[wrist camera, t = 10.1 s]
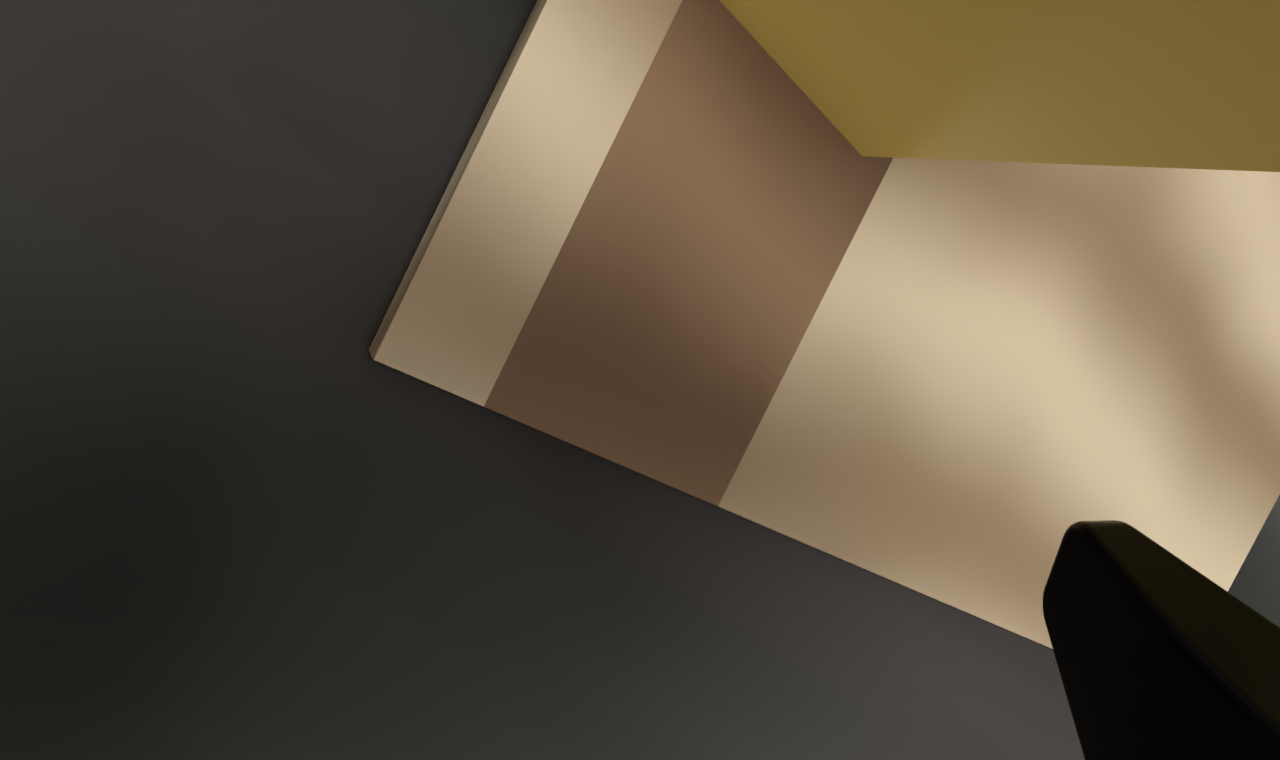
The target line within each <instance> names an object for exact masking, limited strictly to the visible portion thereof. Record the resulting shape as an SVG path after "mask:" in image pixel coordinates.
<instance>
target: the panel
mask: <svg viewBox="0 0 1280 760" xmlns="http://www.w3.org/2000/svg"><path fill="white" fill-rule="evenodd" d="M369 352H370V354H371V356H372V358H373V359H374V360H375V361H378V362H380V363H382V364H385V365H387V366H389V367H392V368H394V369H397V370H399V371H401V372H404V373H406V374H408V375H411V376H413V377H415V378H418V379H420V380H422V381H425V382H427V383H429V384H432V385H434V386H436V387H439V388H441V389H444V390H446V391H448V392H451V393H453V394H455V395H458V396H460V397H462V398H465V399H467V400H469V401H472V402H474V403H476V404H479V405H481V406H483V407H486V408H488V409H490V410H493V411H495V412H498V413H500V414H502V415H505V416H507V417H509V418H512V419H514V420H516V421H519V422H521V423H523V424H526V425H528V426H530V427H533V428H535V429H537V430H540V431H542V432H544V433H547V434H549V435H552V436H554V437H556V438H559V439H561V440H563V441H566V442H568V443H570V444H573V445H575V446H577V447H580V448H582V449H584V450H587V451H589V452H591V453H594V454H596V455H598V456H601V457H603V458H606V459H608V460H610V461H613V462H615V463H617V464H620V465H622V466H624V467H627V468H629V469H631V470H634V471H636V472H638V473H641V474H643V475H645V476H648V477H650V478H652V479H655V480H657V481H660V482H662V483H664V484H667V485H669V486H671V487H674V488H676V489H678V490H681V491H683V492H685V493H688V494H690V495H692V496H695V497H697V498H699V499H702V500H704V501H707V502H709V503H711V504H714V505H716V506H718V507H721V508H723V509H725V510H728V511H730V512H732V513H735V514H737V515H739V516H742V517H744V518H746V519H749V520H751V521H753V522H756V523H758V524H761V525H763V526H765V527H768V528H770V529H772V530H775V531H777V532H779V533H782V534H784V535H786V536H789V537H791V538H793V539H796V540H798V541H800V542H803V543H805V544H807V545H810V546H812V547H815V548H817V549H819V550H822V551H824V552H826V553H829V554H831V555H833V556H836V557H838V558H840V559H843V560H845V561H847V562H850V563H852V564H854V565H857V566H859V567H861V568H864V569H866V570H869V571H871V572H873V573H876V574H878V575H880V576H883V577H885V578H887V579H890V580H892V581H894V582H897V583H899V584H901V585H904V586H906V587H908V588H911V589H913V590H915V591H918V592H920V593H923V594H925V595H927V596H930V597H932V598H934V599H937V600H939V601H941V602H944V603H946V604H948V605H951V606H953V607H955V608H958V609H960V610H962V611H965V612H967V613H969V614H972V615H974V616H977V617H979V618H981V619H984V620H986V621H988V622H991V623H993V624H995V625H998V626H1000V627H1002V628H1005V629H1007V630H1009V631H1012V632H1014V633H1016V634H1019V635H1021V636H1024V637H1026V638H1028V639H1031V640H1033V641H1035V642H1038V643H1040V644H1042V645H1045V646H1047V647H1049V648H1052V644H1051V641H1050V637H1049V634H1048V630H1047V627H1046V623H1045V619H1044V614H1043V593H1044V588H1045V585H1046V582H1047V580H1048V577H1049V574H1050V571H1051V569H1052V566H1053V563H1054V560H1055V558H1056V555H1057V552H1058V549H1059V547H1060V544H1061V541H1062V538H1063V536H1064V534H1065V532H1066V530H1067V528H1068V527H1069V526H1070V525H1072V524H1073V523H1075V522H1078V521H1103V520H1116V521H1122V522H1125V523H1127V524H1129V525H1131V526H1132V527H1134V528H1135V529H1137V530H1138V531H1140V532H1141V533H1143V534H1144V535H1146V536H1147V537H1149V538H1150V539H1151V540H1153V541H1154V542H1156V543H1157V544H1159V545H1160V546H1162V547H1163V548H1165V549H1166V550H1168V551H1169V552H1170V553H1172V554H1173V555H1175V556H1176V557H1178V558H1179V559H1181V560H1182V561H1184V562H1185V563H1186V564H1188V565H1189V566H1191V567H1192V568H1194V569H1195V570H1197V571H1198V572H1200V573H1201V574H1203V575H1204V576H1205V577H1207V578H1208V579H1210V580H1211V581H1213V582H1214V583H1216V584H1217V585H1219V586H1220V587H1221V588H1223V589H1224V590H1226V591H1227V592H1228V590H1229V588H1230V586H1231V584H1232V583H1233V581H1234V579H1235V577H1236V575H1237V573H1238V571H1239V569H1240V568H1241V566H1242V564H1243V562H1244V560H1245V558H1246V556H1247V554H1248V552H1249V551H1250V549H1251V547H1252V545H1253V543H1254V541H1255V539H1256V537H1257V536H1258V534H1259V532H1260V530H1261V528H1262V526H1263V524H1264V522H1265V521H1266V519H1267V517H1268V515H1269V513H1270V511H1271V509H1272V507H1273V505H1274V504H1275V502H1276V500H1277V498H1278V496H1279V494H1280V172H1263V171H1236V170H1209V169H1183V168H1156V167H1130V166H1103V165H1077V164H1050V163H1023V162H997V161H970V160H944V159H917V158H891V157H864V156H861V155H860V153H859V152H858V151H857V150H856V149H855V148H854V147H853V146H852V145H851V144H850V143H849V141H848V140H847V139H846V138H845V137H844V136H843V135H842V134H841V133H840V132H839V130H838V129H837V128H836V127H835V126H834V125H833V124H832V123H831V122H830V121H829V120H828V118H827V117H826V116H825V115H824V114H823V113H822V112H821V111H820V110H819V109H818V108H817V106H816V105H815V104H814V103H813V102H812V101H811V100H810V99H809V98H808V97H807V95H806V94H805V93H804V92H803V91H802V90H801V89H800V88H799V87H798V86H797V85H796V83H795V82H794V81H793V80H792V79H791V78H790V77H789V76H788V75H787V74H786V73H785V71H784V70H783V69H782V68H781V67H780V66H779V65H778V64H777V63H776V62H775V60H774V59H773V58H772V57H771V56H770V55H769V54H768V53H767V52H766V51H765V50H764V48H763V47H762V46H761V45H760V44H759V43H758V42H757V41H756V40H755V39H754V37H753V36H752V35H751V34H750V33H749V32H748V31H747V30H746V29H745V28H744V27H743V25H742V24H741V23H740V22H739V21H738V20H737V19H736V18H735V17H734V16H733V15H732V13H731V12H730V11H729V10H728V9H727V8H726V7H725V6H724V5H723V4H722V2H721V1H720V0H537V2H536V4H535V6H534V8H533V10H532V12H531V14H530V16H529V18H528V20H527V22H526V24H525V26H524V28H523V31H522V33H521V35H520V37H519V39H518V41H517V43H516V45H515V47H514V49H513V51H512V53H511V55H510V58H509V60H508V62H507V64H506V66H505V68H504V70H503V72H502V74H501V76H500V78H499V80H498V82H497V84H496V87H495V89H494V91H493V93H492V95H491V97H490V99H489V101H488V103H487V105H486V107H485V109H484V111H483V114H482V116H481V118H480V120H479V122H478V124H477V126H476V128H475V130H474V132H473V134H472V136H471V138H470V140H469V143H468V145H467V147H466V149H465V151H464V153H463V155H462V157H461V159H460V161H459V163H458V165H457V167H456V170H455V172H454V174H453V176H452V178H451V180H450V182H449V184H448V186H447V188H446V190H445V192H444V194H443V196H442V199H441V201H440V203H439V205H438V207H437V209H436V211H435V213H434V215H433V217H432V219H431V221H430V223H429V226H428V228H427V230H426V232H425V234H424V236H423V238H422V240H421V242H420V244H419V246H418V248H417V250H416V252H415V255H414V257H413V259H412V261H411V263H410V265H409V267H408V269H407V271H406V273H405V275H404V277H403V279H402V281H401V284H400V286H399V288H398V290H397V292H396V294H395V296H394V298H393V300H392V302H391V304H390V306H389V308H388V311H387V313H386V315H385V317H384V319H383V321H382V323H381V325H380V327H379V329H378V331H377V333H376V335H375V337H374V340H373V342H372V344H371V346H370V348H369ZM1052 649H1053V648H1052Z"/></svg>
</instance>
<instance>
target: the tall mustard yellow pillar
mask: <svg viewBox="0 0 1280 760" xmlns="http://www.w3.org/2000/svg"><path fill="white" fill-rule="evenodd" d="M720 1H721V2H722V4H723V5H724V6H725V7H726V8H727V9H728V10H729V11H730V12H731V13H732V15H733V16H734V17H735V18H736V19H737V20H738V21H739V22H740V23H741V24H742V25H743V27H744V28H745V29H746V30H747V31H748V32H749V33H750V34H751V35H752V36H753V37H754V39H755V40H756V41H757V42H758V43H759V44H760V45H761V46H762V47H763V48H764V50H765V51H766V52H767V53H768V54H769V55H770V56H771V57H772V58H773V59H774V60H775V62H776V63H777V64H778V65H779V66H780V67H781V68H782V69H783V70H784V71H785V73H786V74H787V75H788V76H789V77H790V78H791V79H792V80H793V81H794V82H795V83H796V85H797V86H798V87H799V88H800V89H801V90H802V91H803V92H804V93H805V94H806V95H807V97H808V98H809V99H810V100H811V101H812V102H813V103H814V104H815V105H816V106H817V108H818V109H819V110H820V111H821V112H822V113H823V114H824V115H825V116H826V117H827V118H828V120H829V121H830V122H831V123H832V124H833V125H834V126H835V127H836V128H837V129H838V130H839V132H840V133H841V134H842V135H843V136H844V137H845V138H846V139H847V140H848V141H849V143H850V144H851V145H852V146H853V147H854V148H855V149H856V150H857V151H858V152H859V153H860V155H861V156H864V157H891V158H917V159H944V160H970V161H997V162H1023V163H1050V164H1077V165H1103V166H1130V167H1156V168H1183V169H1209V170H1236V171H1263V172H1280V0H720Z"/></svg>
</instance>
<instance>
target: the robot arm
mask: <svg viewBox="0 0 1280 760" xmlns="http://www.w3.org/2000/svg"><path fill="white" fill-rule="evenodd" d="M1043 614H1044V619H1045V623H1046V627H1047V630H1048V634H1049V637H1050V641H1051V644H1052V648H1053V651H1054V654H1055V658H1056V661H1057V665H1058V668H1059V672H1060V675H1061V679H1062V682H1063V686H1064V689H1065V692H1066V696H1067V699H1068V703H1069V706H1070V710H1071V713H1072V717H1073V720H1074V723H1075V727H1076V730H1077V734H1078V737H1079V741H1080V744H1081V748H1082V751H1083V754H1084V758H1085V760H1280V627H1278V626H1277V625H1275V624H1274V623H1272V622H1271V621H1270V620H1268V619H1267V618H1265V617H1264V616H1262V615H1261V614H1259V613H1258V612H1256V611H1255V610H1254V609H1252V608H1251V607H1249V606H1248V605H1246V604H1245V603H1243V602H1242V601H1240V600H1239V599H1237V598H1236V597H1235V596H1233V595H1232V594H1230V593H1229V592H1227V591H1226V590H1224V589H1223V588H1221V587H1220V586H1219V585H1217V584H1216V583H1214V582H1213V581H1211V580H1210V579H1208V578H1207V577H1205V576H1204V575H1203V574H1201V573H1200V572H1198V571H1197V570H1195V569H1194V568H1192V567H1191V566H1189V565H1188V564H1186V563H1185V562H1184V561H1182V560H1181V559H1179V558H1178V557H1176V556H1175V555H1173V554H1172V553H1170V552H1169V551H1168V550H1166V549H1165V548H1163V547H1162V546H1160V545H1159V544H1157V543H1156V542H1154V541H1153V540H1151V539H1150V538H1149V537H1147V536H1146V535H1144V534H1143V533H1141V532H1140V531H1138V530H1137V529H1135V528H1134V527H1132V526H1131V525H1129V524H1127V523H1125V522H1122V521H1116V520H1103V521H1078V522H1075V523H1073V524H1072V525H1070V526H1069V527H1068V528H1067V530H1066V532H1065V534H1064V536H1063V538H1062V541H1061V544H1060V547H1059V549H1058V552H1057V555H1056V558H1055V560H1054V563H1053V566H1052V569H1051V571H1050V574H1049V577H1048V580H1047V582H1046V585H1045V588H1044V593H1043Z"/></svg>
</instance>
